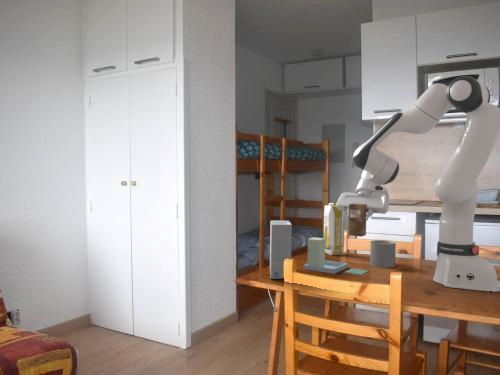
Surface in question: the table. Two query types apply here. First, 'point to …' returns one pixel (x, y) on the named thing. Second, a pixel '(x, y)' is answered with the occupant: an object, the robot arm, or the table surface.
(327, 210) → the juice carton
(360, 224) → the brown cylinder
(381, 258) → the coffee mug
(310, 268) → the parts tray
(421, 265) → the table surface
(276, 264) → the hard drive box
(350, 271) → the felt pad
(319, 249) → the sage box
